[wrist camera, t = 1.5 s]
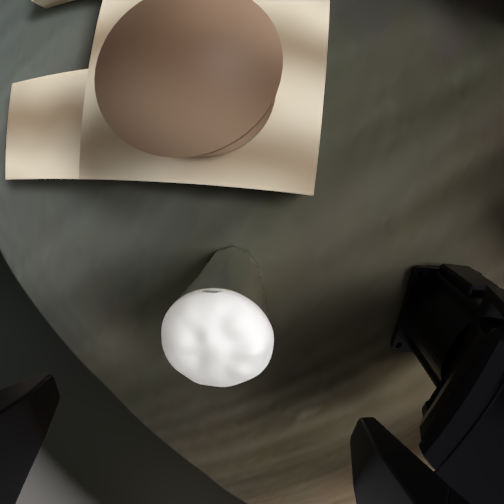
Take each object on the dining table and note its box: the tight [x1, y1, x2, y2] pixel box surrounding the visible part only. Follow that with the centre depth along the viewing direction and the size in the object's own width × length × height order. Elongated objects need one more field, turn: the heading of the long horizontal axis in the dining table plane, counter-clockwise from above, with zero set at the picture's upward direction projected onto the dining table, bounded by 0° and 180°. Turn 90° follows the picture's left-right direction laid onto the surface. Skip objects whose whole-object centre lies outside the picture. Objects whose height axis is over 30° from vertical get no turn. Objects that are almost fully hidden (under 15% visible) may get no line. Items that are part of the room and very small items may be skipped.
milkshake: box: [161, 247, 274, 387], centre depth 15 cm, size 5×5×10 cm
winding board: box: [6, 0, 330, 195], centre depth 15 cm, size 16×20×2 cm
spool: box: [94, 0, 283, 158], centre depth 12 cm, size 7×7×6 cm
